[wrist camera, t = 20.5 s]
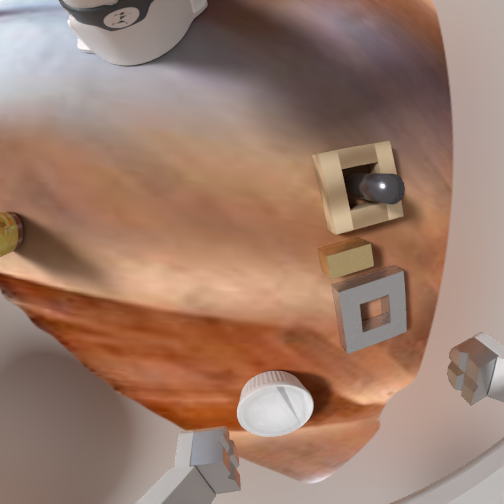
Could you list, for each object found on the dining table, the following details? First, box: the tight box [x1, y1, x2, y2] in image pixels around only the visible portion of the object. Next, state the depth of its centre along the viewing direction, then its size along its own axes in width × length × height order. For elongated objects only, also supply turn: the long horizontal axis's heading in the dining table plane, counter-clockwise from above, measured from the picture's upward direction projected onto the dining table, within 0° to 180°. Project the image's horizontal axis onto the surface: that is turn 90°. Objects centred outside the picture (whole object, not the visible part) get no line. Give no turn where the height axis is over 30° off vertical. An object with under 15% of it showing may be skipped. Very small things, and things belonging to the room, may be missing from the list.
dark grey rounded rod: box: [344, 173, 404, 205], centre depth 33 cm, size 3×3×10 cm
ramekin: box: [237, 371, 314, 437], centre depth 43 cm, size 11×11×5 cm
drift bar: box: [318, 237, 374, 279], centre depth 38 cm, size 3×6×4 cm, turn 104°
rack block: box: [312, 141, 404, 235], centre depth 37 cm, size 10×10×3 cm
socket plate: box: [331, 265, 407, 354], centre depth 41 cm, size 10×10×3 cm
